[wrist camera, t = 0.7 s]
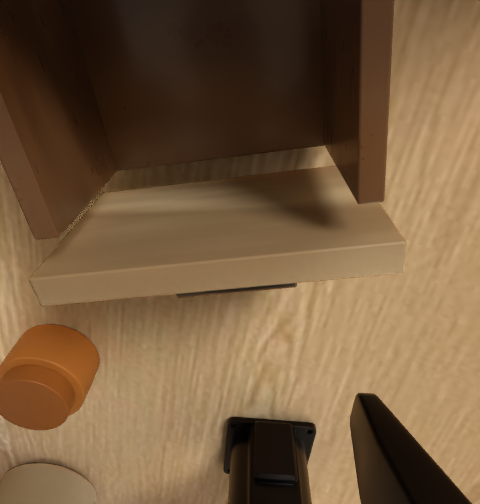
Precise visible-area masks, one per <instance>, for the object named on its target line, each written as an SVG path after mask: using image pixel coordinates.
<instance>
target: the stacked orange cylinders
mask: <svg viewBox="0 0 480 504" xmlns="http://www.w3.org/2000/svg"><path fill="white" fill-rule="evenodd" d="M99 363H100V361H99V354H98V352H97V350H96V348H95V346H94V345H93V344H92V342H91V341H90V340H89V339H87V338H86V337H85V336H84V335H82V334H81V333H79V332H77V331H75V330H73V329H71V328H68V327H65V326H61V325H54V324H46V325H39V326H35V327H33V328H31V329H29V330H27V331H26V332H25V333H24V334H23V335H22V336H21V337H20V339H19V340H18V342H17V343H16V344H15V346H14V347H13V348H12V350H11V351H10V353H9V354H8V355H7V357H6V358H5V359H4V361H3V362H2V364H1V365H0V415H1V416H3V417H4V418H5V419H6V420H8V421H10V422H11V423H13V424H15V425H18V426H20V427H24V428H27V429H33V430H48V429H53V428H56V427H58V426H60V425H61V424H62V423H64V422H65V420H66V419H67V417H68V416H69V415H71V414H73V413H75V412H76V411H77V410H78V409H79V408H80V407H81V406H82V404H83V402H84V400H85V398H86V395H87V393H88V391H89V388H90V386H91V384H92V382H93V379H94V377H95V375H96V373H97V370H98V368H99Z"/></svg>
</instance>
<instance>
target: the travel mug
mask: <svg viewBox="0 0 480 504" xmlns="http://www.w3.org/2000/svg"><path fill="white" fill-rule="evenodd" d="M95 502H96V492H95V489H94V488H93V486H92V485H91V484H90V483H89V482H88V481H87V480H86V479H85V478H84V477H82V476H81V475H79V474H78V473H76V472H75V471H72V470H70V469H68V468H65V467H63V466H59V465H54V464H48V463H33V464H24V465H20V466H17V467H15V468H12V469H11V470H9V471H8V472H7V473H6V474H5V476H4V478H3V479H2V481H1V483H0V504H95Z"/></svg>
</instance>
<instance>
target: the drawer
mask: <svg viewBox="0 0 480 504" xmlns="http://www.w3.org/2000/svg"><path fill="white" fill-rule="evenodd" d="M393 16H394V0H0V160H1V162H2V165H3V167H4V169H5V171H6V174H7V176H8V178H9V181H10V183H11V185H12V187H13V190H14V192H15V194H16V197H17V199H18V201H19V203H20V206H21V208H22V210H23V213H24V215H25V217H26V219H27V222H28V224H29V226H30V229H31V231H32V233H33V236H34V238H35V239H36V240H38V239H47V238H56V237H59V236H60V235H61V233H62V232H63V231H64V230H65V229H66V228H67V227H68V226H69V224H70V223H71V222H72V221H73V220H74V219H75V218H76V217H77V216H78V214H79V213H80V212H81V211H82V210H83V209H84V208H85V207H86V205H87V204H88V203H89V202H90V201H91V200H92V199H93V198H94V196H95V195H96V194H97V193H98V192H99V191H100V190H101V189H102V187H103V186H104V185H105V184H106V183H107V182H108V181H109V180H110V178H111V177H112V176H113V175H114V174H115V173H116V172H117V171H119V170H127V169H135V168H144V167H152V166H160V165H168V164H176V163H185V162H193V161H201V160H209V159H217V158H226V157H234V156H242V155H250V154H258V153H267V152H275V151H283V150H291V149H299V148H308V147H316V146H324V145H325V147H326V149H327V150H328V152H329V154H330V156H331V158H332V159H333V161H334V163H335V165H336V166H329V167H320V168H312V169H303V170H295V171H286V172H278V173H269V174H261V175H252V176H244V177H235V178H227V179H218V180H210V181H201V182H192V183H184V184H175V185H167V186H158V187H150V188H141V189H133V190H124V191H116V192H107V193H103V194H102V195H101V196H100V197H99V198H98V199H97V201H96V202H95V203H94V204H93V205H92V206H91V208H90V209H89V210H88V211H87V212H86V213H85V215H84V216H83V217H82V218H81V219H80V220H79V222H78V223H77V224H76V225H75V226H74V227H73V229H72V230H71V231H70V232H69V233H68V234H67V236H66V237H65V238H64V239H63V240H62V241H61V242H60V244H59V245H58V246H57V247H56V248H55V249H54V251H53V252H52V253H51V254H50V255H49V256H48V258H47V259H46V260H45V261H44V262H43V263H42V265H41V266H40V267H39V268H38V269H37V270H36V272H35V273H34V274H33V275H32V276H31V277H30V279H29V281H30V283H31V285H32V288H33V290H34V292H35V294H36V296H37V298H38V300H39V302H40V305H41V306H53V305H63V304H74V303H85V302H96V301H107V300H117V299H128V298H139V297H150V296H161V295H171V294H176V295H177V297H179V298H183V297H194V296H204V295H215V294H226V293H237V292H248V291H259V290H270V289H281V288H292V287H296V286H297V283H301V282H312V281H322V280H333V279H344V278H355V277H366V276H376V275H387V274H398V273H403V272H404V270H405V258H406V247H407V242H406V240H405V239H404V237H403V236H402V234H401V233H400V232H399V230H398V229H397V227H396V226H395V224H394V223H393V221H392V220H391V218H390V217H389V216H388V214H387V213H386V211H385V210H384V208H383V207H382V205H381V204H380V203H379V202H383V201H384V196H385V176H386V156H387V136H388V116H389V96H390V76H391V56H392V36H393Z"/></svg>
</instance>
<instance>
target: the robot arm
mask: <svg viewBox="0 0 480 504" xmlns="http://www.w3.org/2000/svg"><path fill="white" fill-rule="evenodd" d="M350 429H351V437H352V444H353V451H354V459H355V466H356V474H357V481H358V488H359V494H360V499H361V504H472V503H471V502H470V501H469V500H468V499H467V498H466V496H465V495H464V494H463V493H462V492H461V491H460V490H459V488H458V487H457V486H456V485H455V484H454V483H453V482H452V481H451V479H450V478H449V477H448V476H447V475H446V474H445V473H444V471H443V470H442V469H441V468H440V467H439V466H438V465H437V463H436V462H435V461H434V460H433V459H432V458H431V457H430V456H429V454H428V453H427V452H426V451H425V450H424V449H423V448H422V446H421V445H420V444H419V443H418V442H417V441H416V440H415V438H414V437H413V436H412V435H411V434H410V433H409V432H408V430H407V429H406V428H405V427H404V426H403V425H402V424H401V423H400V421H399V420H398V419H397V418H396V417H395V416H394V415H393V413H392V412H391V411H390V410H389V409H388V408H387V407H386V405H385V404H384V403H383V402H382V401H381V400H380V399H379V398H378V396H376V395H375V394H371V393H358V394H357V395H356V397H355V400H354V404H353V408H352V412H351V416H350ZM315 435H316V427H315V425H314V424H313V423H308V422H295V421H282V420H268V419H255V418H242V417H232V418H230V419H229V420H228V428H227V438H226V449H225V459H224V472H225V473H227V474H230V476H229V496H228V504H312V502H311V494H310V486H309V477H308V469H307V464H308V460H309V457H310V453H311V449H312V446H313V442H314V438H315Z"/></svg>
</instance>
